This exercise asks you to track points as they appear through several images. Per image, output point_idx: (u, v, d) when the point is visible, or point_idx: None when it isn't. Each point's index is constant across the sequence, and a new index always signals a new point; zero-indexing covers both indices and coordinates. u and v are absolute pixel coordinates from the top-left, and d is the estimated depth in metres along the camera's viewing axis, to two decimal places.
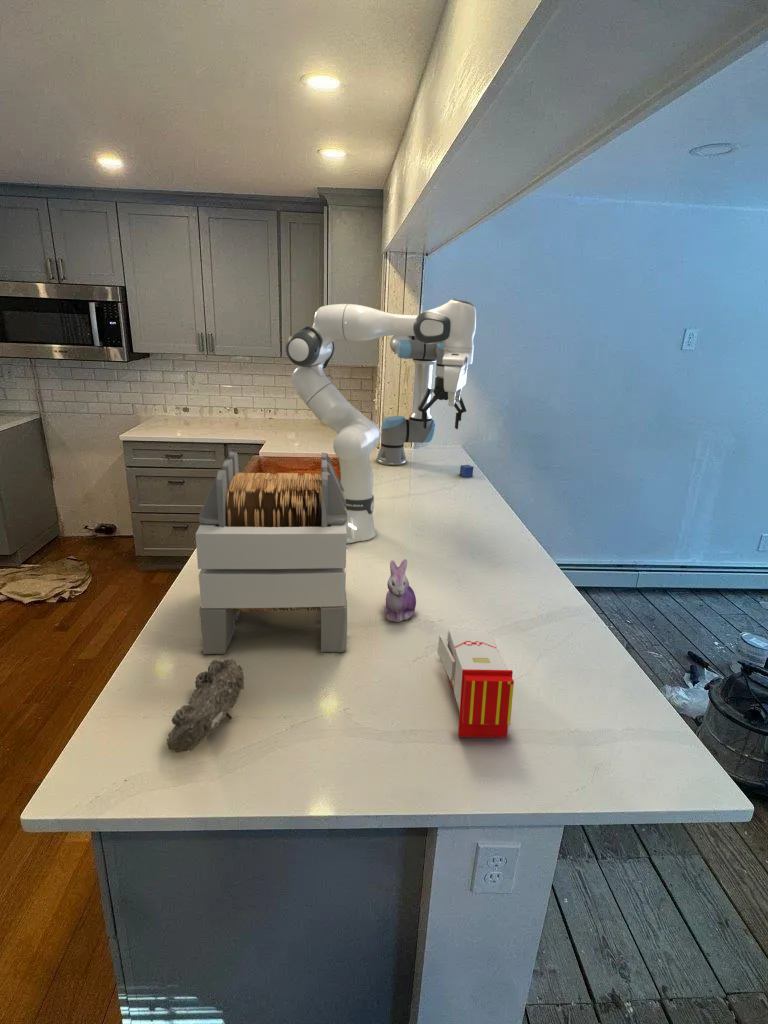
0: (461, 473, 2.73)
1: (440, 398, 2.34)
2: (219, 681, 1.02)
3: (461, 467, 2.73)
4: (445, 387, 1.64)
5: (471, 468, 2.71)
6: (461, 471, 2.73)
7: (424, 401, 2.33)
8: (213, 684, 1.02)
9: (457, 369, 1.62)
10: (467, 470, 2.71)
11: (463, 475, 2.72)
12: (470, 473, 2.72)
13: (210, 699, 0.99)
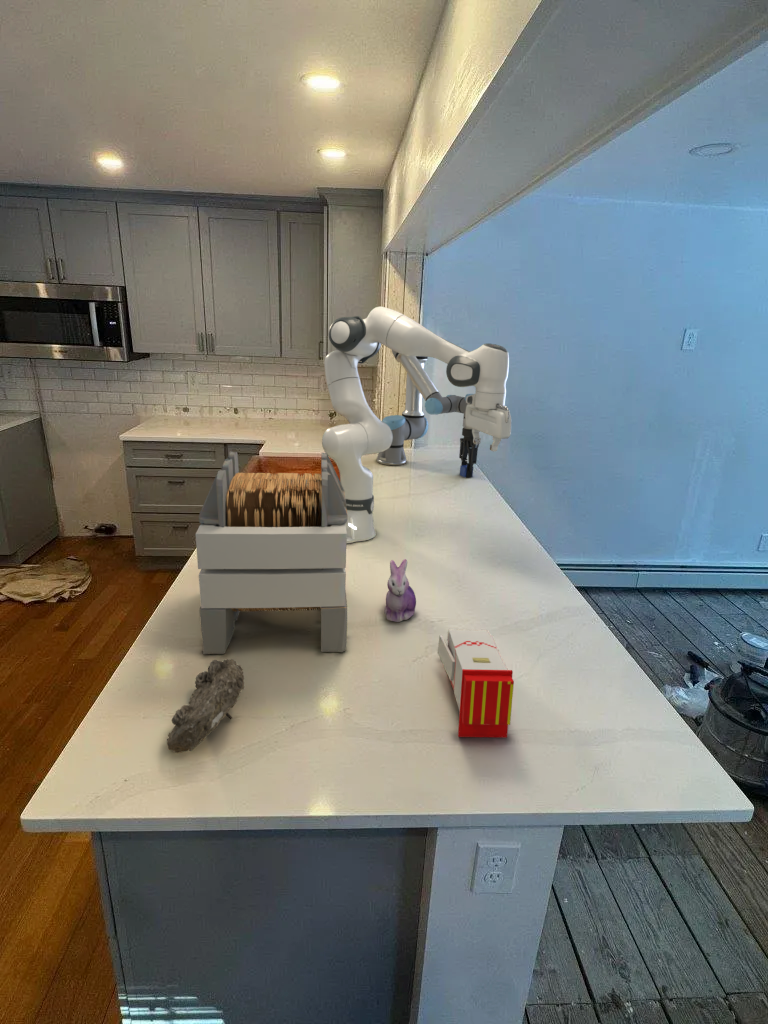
0: (461, 473, 2.73)
1: None
2: (219, 681, 1.02)
3: (461, 467, 2.73)
4: None
5: None
6: (461, 471, 2.73)
7: None
8: (213, 684, 1.02)
9: None
10: None
11: (463, 475, 2.72)
12: None
13: (210, 699, 0.99)
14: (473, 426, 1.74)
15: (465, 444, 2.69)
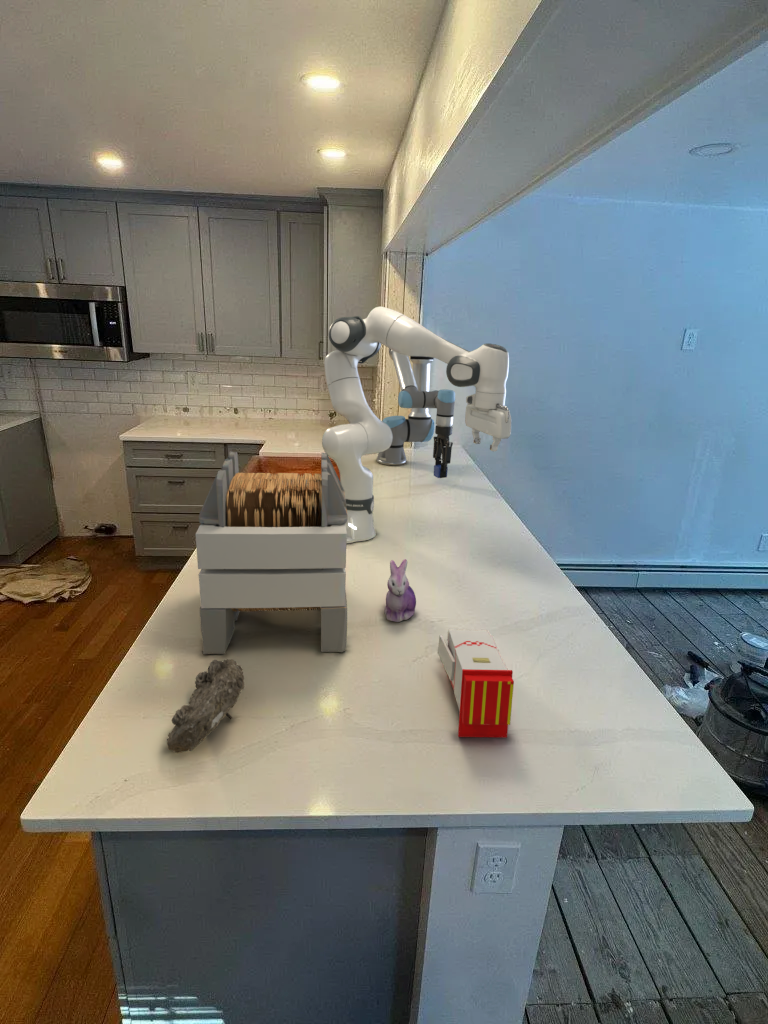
0: (435, 473, 2.59)
1: None
2: (219, 681, 1.02)
3: (435, 467, 2.58)
4: None
5: None
6: (435, 471, 2.58)
7: None
8: (213, 684, 1.02)
9: None
10: None
11: (437, 476, 2.57)
12: None
13: (210, 699, 0.99)
14: (473, 426, 1.74)
15: (439, 443, 2.55)
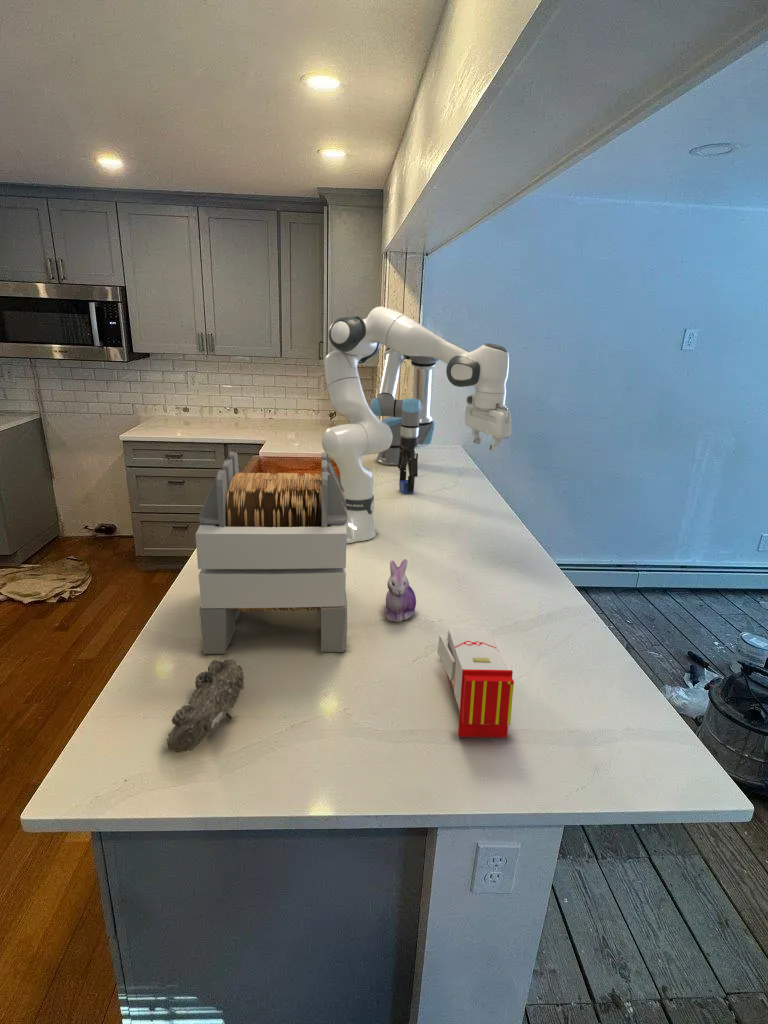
0: (400, 489, 2.45)
1: None
2: (219, 681, 1.02)
3: (400, 483, 2.44)
4: None
5: None
6: (400, 487, 2.45)
7: None
8: (213, 684, 1.02)
9: None
10: (406, 486, 2.42)
11: (402, 492, 2.43)
12: None
13: (210, 699, 0.99)
14: (473, 426, 1.74)
15: (404, 455, 2.41)
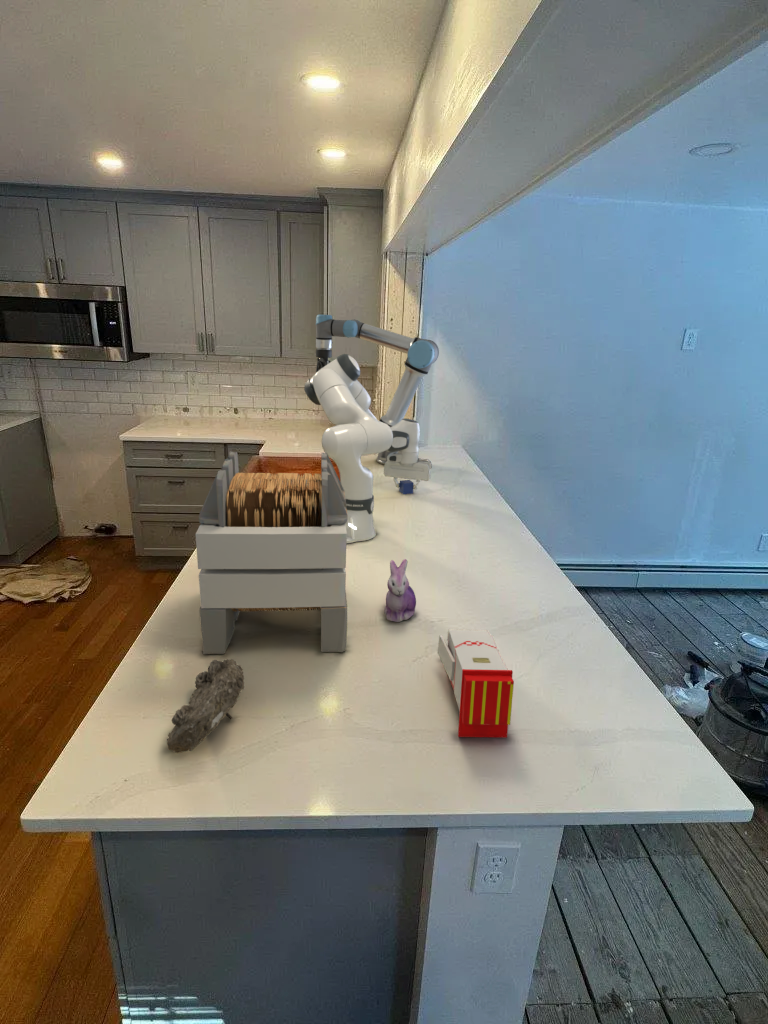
0: (400, 489, 2.45)
1: None
2: (219, 681, 1.02)
3: (400, 483, 2.44)
4: None
5: (411, 484, 2.43)
6: (400, 487, 2.45)
7: None
8: (213, 684, 1.02)
9: None
10: (406, 486, 2.42)
11: (402, 492, 2.43)
12: (410, 489, 2.43)
13: (210, 699, 0.99)
14: (395, 476, 2.42)
15: (319, 365, 2.74)
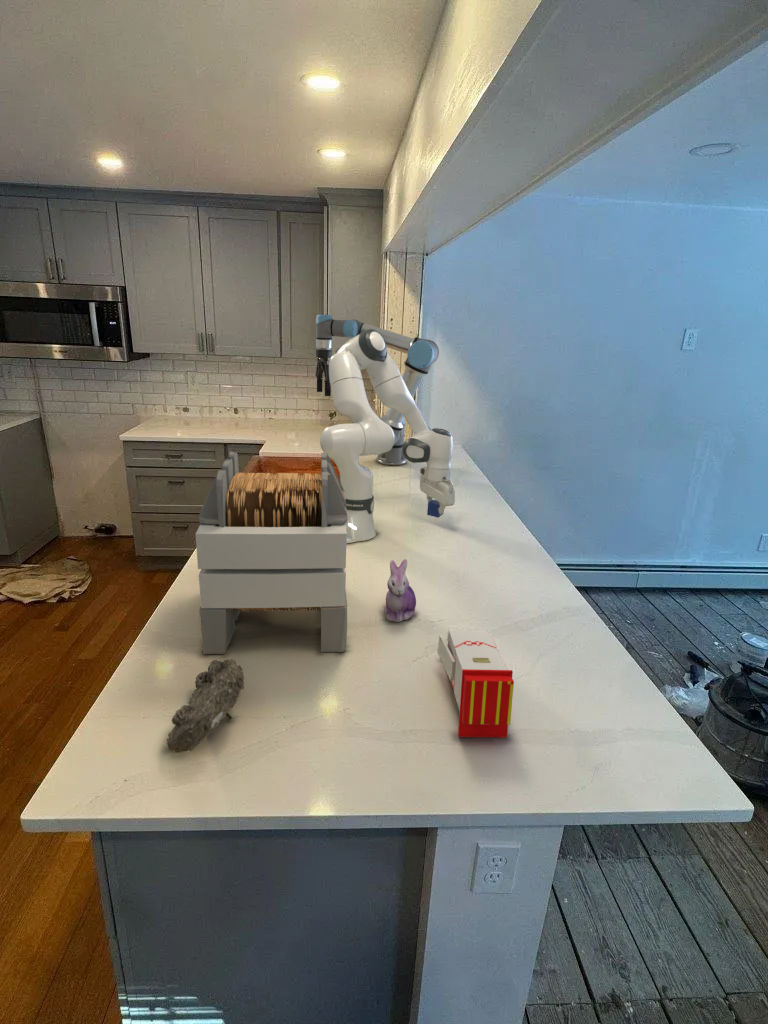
0: None
1: None
2: (219, 681, 1.02)
3: None
4: None
5: (436, 506, 2.07)
6: None
7: None
8: (213, 684, 1.02)
9: None
10: (431, 507, 2.08)
11: None
12: (435, 512, 2.08)
13: (210, 699, 0.99)
14: (426, 492, 2.11)
15: (319, 365, 2.74)
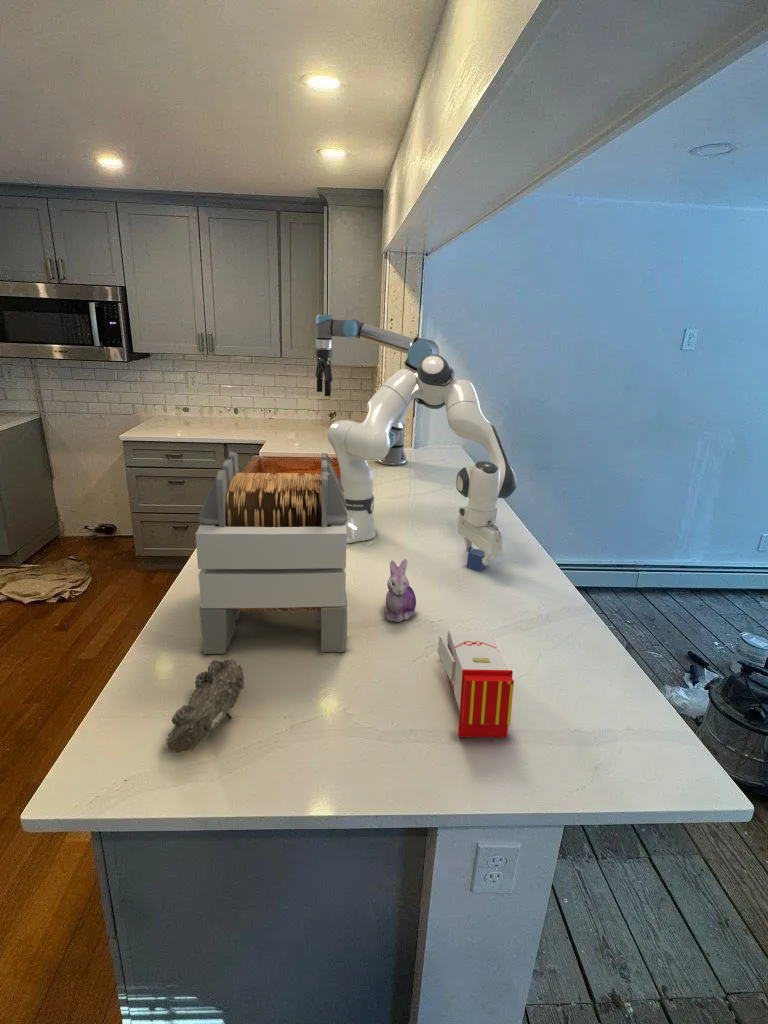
0: None
1: None
2: (219, 681, 1.02)
3: None
4: None
5: (478, 557, 1.73)
6: None
7: None
8: (213, 684, 1.02)
9: None
10: (471, 558, 1.74)
11: None
12: (476, 564, 1.74)
13: (210, 699, 0.99)
14: (465, 536, 1.77)
15: (319, 365, 2.74)
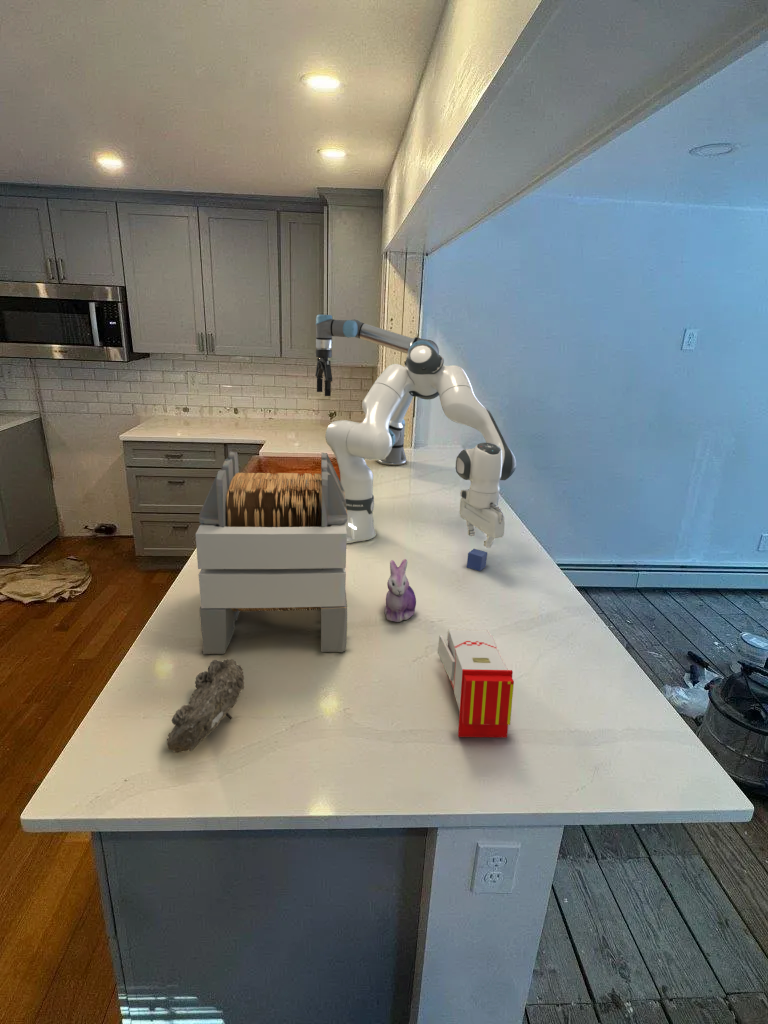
0: None
1: None
2: (219, 681, 1.02)
3: None
4: None
5: (478, 557, 1.73)
6: None
7: None
8: (213, 684, 1.02)
9: None
10: (471, 558, 1.74)
11: None
12: (476, 564, 1.74)
13: (210, 699, 0.99)
14: (467, 519, 1.75)
15: (319, 365, 2.74)
